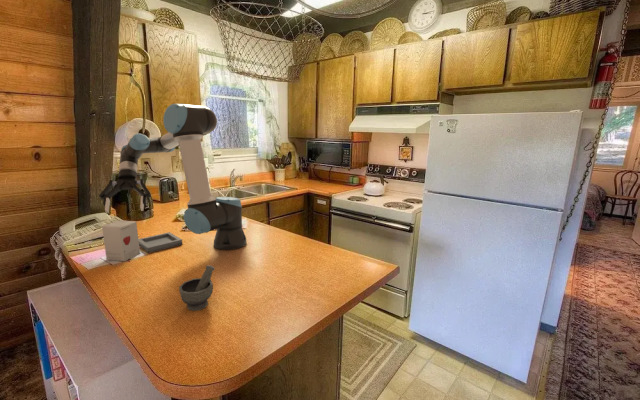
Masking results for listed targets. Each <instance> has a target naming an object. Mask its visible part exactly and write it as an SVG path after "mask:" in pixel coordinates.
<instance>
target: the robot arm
mask: <svg viewBox="0 0 640 400" xmlns="http://www.w3.org/2000/svg"><path fill="white" fill-rule="evenodd" d="M162 121H163V126H164V128H165V129H164V130H166V131H167V133H165V134H164V135H161V136H159V137H148V136H147V135H145V134H142V133H136V134H134V135H132V137H131V138H130V139H129V140H128V143H127V144H125V145H123V146H122V147H121V150H120V154H119V155H120V158H119V167H118V175H117V180H116V181H115V180H113V179H109V182H108V184H107V185H106V186H105V188H103V190H102V191H101V193H99V195H98V196H99V198H100V200H101V201H102V202H103V203H102V204H103V206H104V211H105V213H106V214H109V213H110V212H109V211H110V204H111V199H112V198H113V197H114V196H115V195H116V194H118V193H119V192H121V191H126V190H128V191H130V190H133V191H134V192H137V194H138V195H140V205H139V208H140V210H141V211H142V212H144V208H145V205H146V204H147V199H148V198H151V197H152V195H151V191H149V189H148V188H147V186H146V184H145V183H144V182H145V181H144V179H143V178H141V179H139V180H137V179H138V178H137V177H138V164H139V159H140V158H141V157H142V155H143V154H156V153H157V154H159V153H170V152H174V151H175V149H176V147H179V151H180V157H181V160H182V161H181V163H182V166H183V171H184V175H185V176H184V177H185V181H186V185H187V190H188V194H189V195H188V196H189V201H187V205H186V206H187V208H186V209H185V211H184V212H183V213H184V214H183V220H184V223H185V226H186V227H187V229H189V230H190V232H192V233H194V234H196V235H201V234H207V233H209V232H211V231H214V230H216V233H215V235H214V239H213V246H214V248H215V249H217V250H221V251H231V250H237V249H240V248H243V247H245V246H246V245H247V237H246V235H245V232H244V228H243V213H242V211H243V209H242V208H243V207H242V201H241V199H240V198H237V197H232V196H217V197H214V196H212V191H211V187H210V184H209V183H210V182H209V178H208V171H207V166H206V162H205V157H204V151H203V147H202V141H201V140H202V139H203V138H204V136H206V135H208V134H210V133H212V132H213V131H215V129H216V127H217V125H218V118H217V115H216V114H215V112H214V111H213V110H212V109H211V108H209V107H207V106H204V105H196V104H195V105H194V104H188V103H187V104H186V103H172V104H170V105H168V106H167V107H166V108H165V111H164V113H163V120H162ZM138 184H139V185H140V186H141V187H142V188H139V187H138V186H137V185H138ZM141 189H143V190H141ZM143 191H144V192H143Z"/></svg>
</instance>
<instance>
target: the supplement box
mask: <svg viewBox="0 0 640 400" xmlns="http://www.w3.org/2000/svg"><path fill="white" fill-rule="evenodd" d="M137 224H138V223H137V221H136V220H135V221H134V220H123V219H119V220H116V221H113V222H110V223H106V224H103V225H102V226H101V228H102V229H101V230H102V237H103V242H104V251H105V258H106V260H110V261H117V262H118V261H119V262H125V261H127V260H129V259H132V258H133V257H136V256H138V255H140V254H141V251H140V249H141V247H140V246H139V240H138V239H139V233H138V225H137Z"/></svg>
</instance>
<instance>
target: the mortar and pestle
mask: <svg viewBox="0 0 640 400" xmlns="http://www.w3.org/2000/svg"><path fill="white" fill-rule="evenodd" d="M204 267H205V270H204V272H203V273H202V276H201V277H199V278H196V277H195V278H191V279H189V280H186V281H184V282H182V283H181V284H180V285H179V286H178V290H179V295H180V299H181V300H182V302H183V303H184V304H186V308H187V310H189V311H191V312H195V311H197V312H198V311H201V310H203V309H205V308H206V307H207V306H208V305H209V302H208V300H209V299H210V297H212V295H213V292H214V291H213V290H214V284H213V282H212V279H211V277H212V274H213V272H214V271H215V270H216V269H215V267H214V266H213V265H209V264H207V265H205V266H204Z"/></svg>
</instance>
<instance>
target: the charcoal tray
mask: <svg viewBox="0 0 640 400" xmlns="http://www.w3.org/2000/svg"><path fill="white" fill-rule="evenodd" d="M138 240H139V248H140V249H142V250H144V252H146V253H148V254H150V253H155V252H158V251H162V250H167V249H171V248H174V247H178V246H182V245H183V239H182V238H180V237H178V236H177V235H175V234H174V233H172V232H170V231H169V232H164V233H160V234H156V235H151V236H146V237H141V238H138Z"/></svg>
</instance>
